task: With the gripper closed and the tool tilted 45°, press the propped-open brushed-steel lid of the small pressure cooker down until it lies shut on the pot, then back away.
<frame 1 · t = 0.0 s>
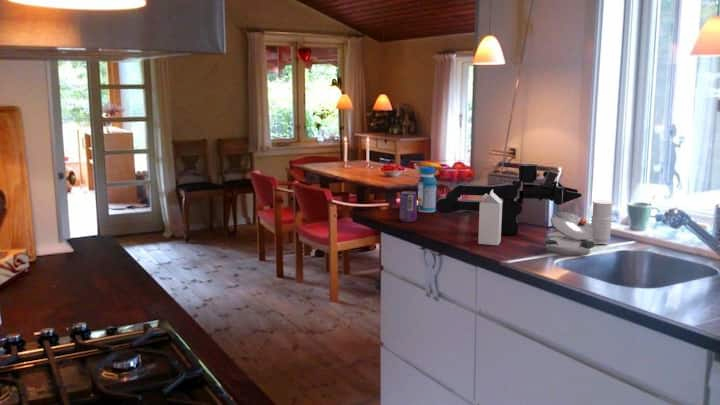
hand: (579, 193, 238), 17 cm above the countertop, tool horizontal, fingers open, 9 cm apart
beverage can: (408, 221, 269), on the countertop
beverage bottle: (426, 211, 291), on the countertop
milk carton: (489, 243, 231), on the countertop
cooker pot: (567, 250, 219), on the countertop
cooker lid: (572, 224, 217), point 10 cm above the countertop, hinge at 28.0°
white cylinder: (599, 243, 231), on the countertop
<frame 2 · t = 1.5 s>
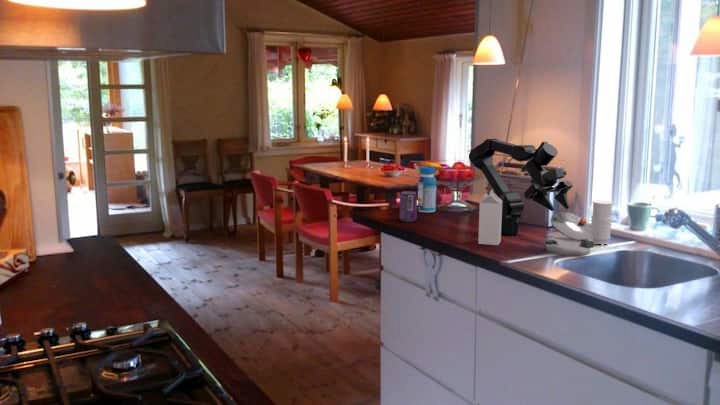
hand: (560, 209, 221), 14 cm above the countertop, tool tilted 45°, fingers open, 7 cm apart
nothing on the countertop moved.
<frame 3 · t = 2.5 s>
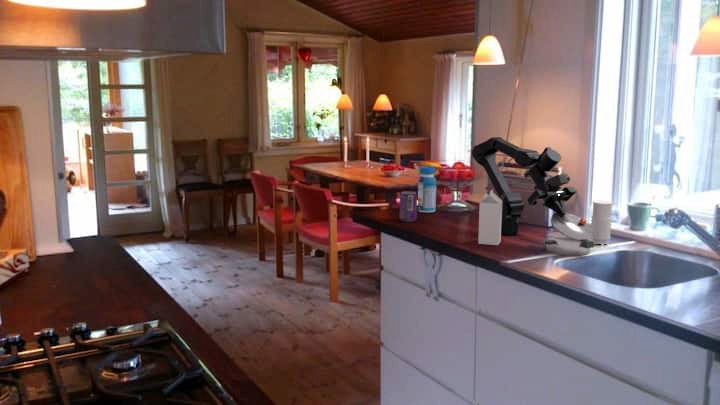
hand: (564, 215, 219), 12 cm above the countertop, tool tilted 45°, fingers closed, pressing on cooker lid
cooker lid: (572, 224, 217), point 9 cm above the countertop, hinge at 27.2°, touching gripper
everything else where it was.
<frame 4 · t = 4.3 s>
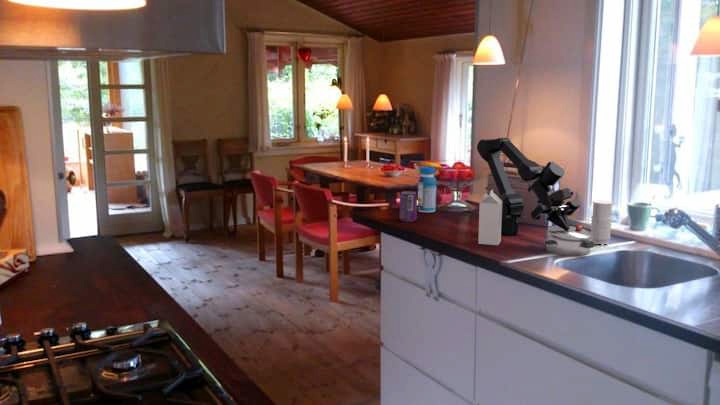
hand: (568, 230, 219), 7 cm above the countertop, tool tilted 45°, fingers closed, pressing on cooker lid
cooker lid: (569, 230, 218), point 7 cm above the countertop, hinge at 5.5°, touching gripper
everything else where it was.
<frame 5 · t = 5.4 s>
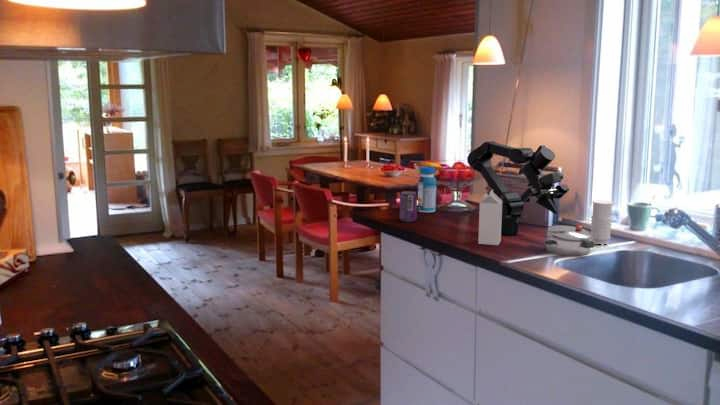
hand: (556, 213, 222), 12 cm above the countertop, tool tilted 45°, fingers closed
cooker lid: (569, 230, 218), point 7 cm above the countertop, hinge at 5.4°
everything else where it was.
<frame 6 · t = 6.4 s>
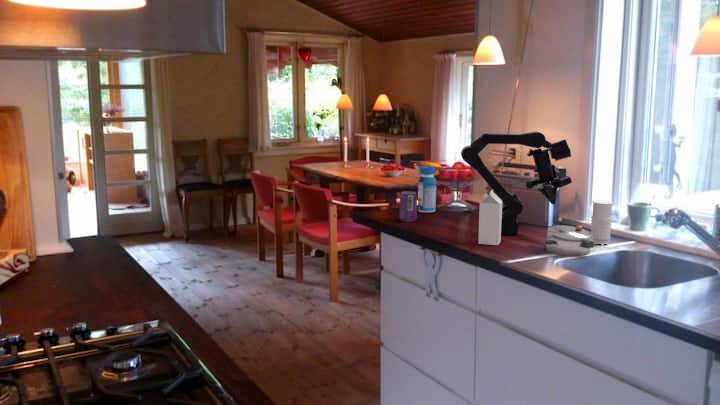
hand: (553, 204, 241), 12 cm above the countertop, tool tilted 15°, fingers closed
nothing on the countertop moved.
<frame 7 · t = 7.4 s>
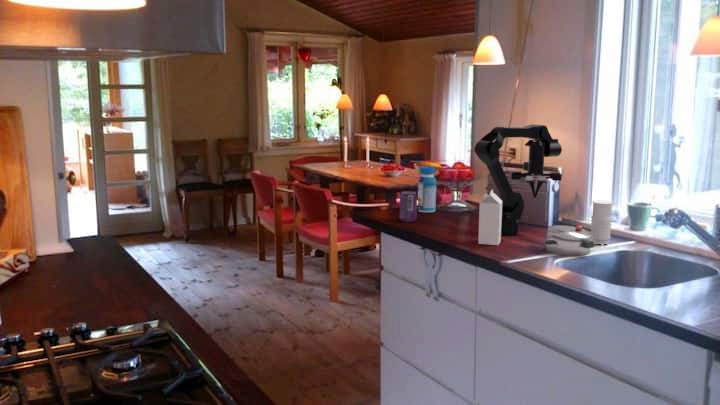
hand: (534, 197, 249), 13 cm above the countertop, tool pointing down, fingers closed
nothing on the countertop moved.
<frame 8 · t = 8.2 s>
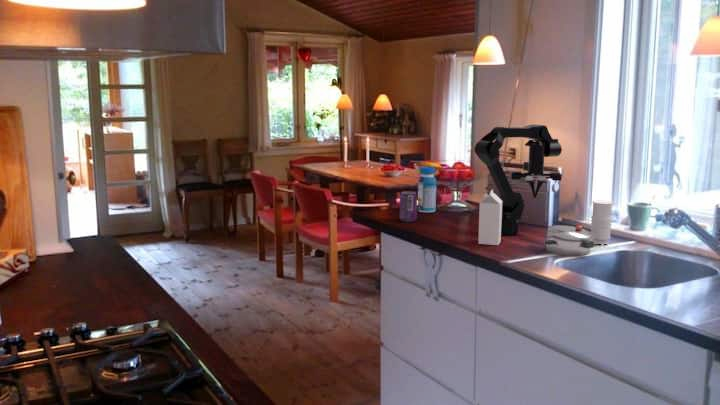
hand: (534, 197, 249), 13 cm above the countertop, tool pointing down, fingers closed
nothing on the countertop moved.
at the end: cooker lid at +5° (first picture: +28°) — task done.
